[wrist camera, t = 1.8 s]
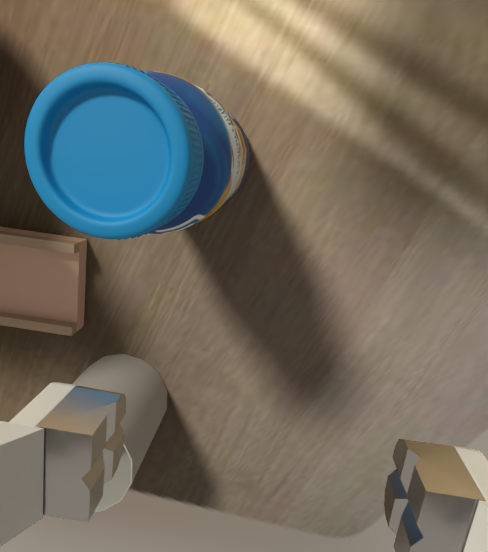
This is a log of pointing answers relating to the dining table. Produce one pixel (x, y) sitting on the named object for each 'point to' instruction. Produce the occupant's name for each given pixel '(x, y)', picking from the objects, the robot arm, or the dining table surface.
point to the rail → (42, 281)
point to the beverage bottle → (132, 151)
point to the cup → (129, 413)
